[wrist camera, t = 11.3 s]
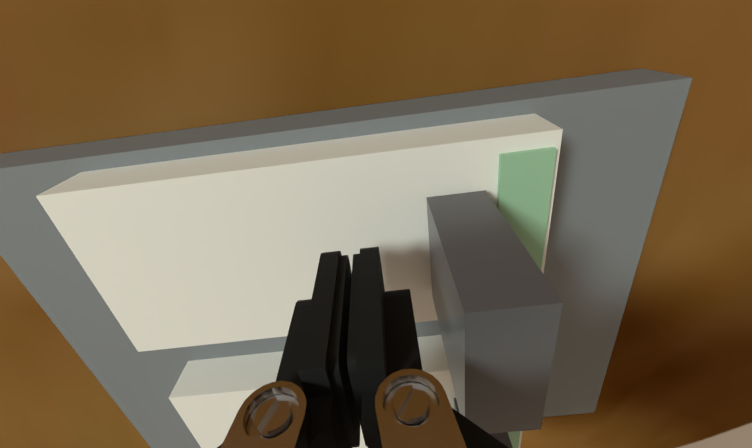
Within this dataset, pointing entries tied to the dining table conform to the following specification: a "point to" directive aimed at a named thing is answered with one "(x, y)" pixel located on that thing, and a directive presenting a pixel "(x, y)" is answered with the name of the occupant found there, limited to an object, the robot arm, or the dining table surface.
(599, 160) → the breaker panel
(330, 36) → the dining table surface
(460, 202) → the breaker handle
